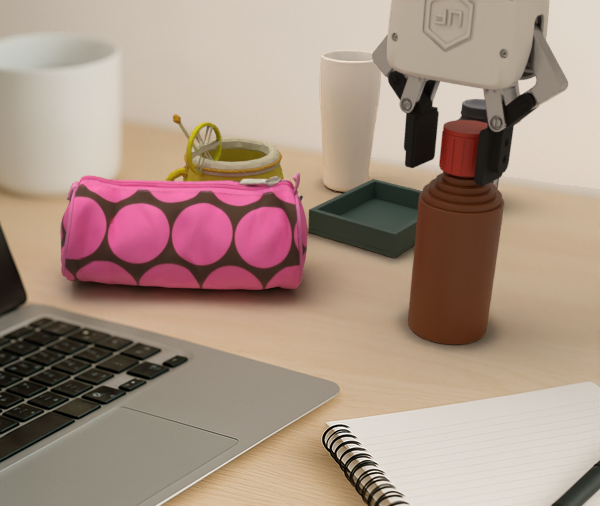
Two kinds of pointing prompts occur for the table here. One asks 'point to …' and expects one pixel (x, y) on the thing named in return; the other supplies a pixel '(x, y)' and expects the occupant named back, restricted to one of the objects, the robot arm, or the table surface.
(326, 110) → the drinking glass
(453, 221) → the bottle
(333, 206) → the tray
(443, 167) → the cap
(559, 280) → the table surface
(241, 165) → the yellow round vessel
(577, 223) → the table surface
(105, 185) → the pencil case
